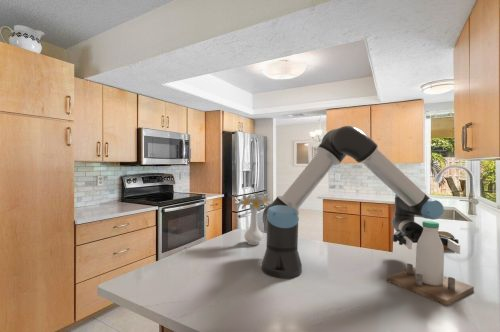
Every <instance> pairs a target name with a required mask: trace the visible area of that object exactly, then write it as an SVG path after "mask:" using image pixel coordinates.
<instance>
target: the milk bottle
mask: <svg viewBox="0 0 500 332" xmlns="http://www.w3.org/2000/svg"><path fill="white" fill-rule="evenodd" d="M421 224H422V225H421V226H422V228H423V232H422V234H421V236H420V238H419V240H418V242H417V243H416V249H415V251H416V252H415V267H416V274H421V275H423V276H422V283H424V284H428V285H433V286H440V285H442V284H443V276H444V275H445V274H444V271H445V270H444V269H445V267H444V266H445V249H444V248H443V244H442V241H441V239H440V237H439V234H438V231H440V223H439V222H437V221H433V220H423V221H422V222H421Z"/></svg>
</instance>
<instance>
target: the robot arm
mask: <svg viewBox="0 0 500 332" xmlns="http://www.w3.org/2000/svg"><path fill="white" fill-rule="evenodd" d="M378 147H379V145H378V144H377V142H375V140H373V139H372V138H371V137H370V136H368V135H367V134H366V133H365V132H363V131H362V130H361V129H359V128H357V127H355V126H352V125H344V126H343V125H342V126H340V127H337V128H333V129H331V130H329V131H328V132H327V133H325V134H324V136H323V137H322V139H321V143H320V144H318V146H317V149H316V151H317V153H316V154H315V155H314V157H313V158H312V159H311V160H310V161H309V163H308V164H307V165H306V166H305V168H304V169H303V170H302V171H301V172H300V174H299V175H298V176H297V178H296V179H295V180H294V181H293V182H292V183H291V185H290V186H289V187H288V189H287V190H286V191H285V192H284V194H283V195H278V196H276V198H275V199H274V200H273V201H272V202H271V203H269V205H268V206H267V205H266V207H265V208H264V210H263V212H262V222H263V225H264V226H265V228H266V250H265V252H264V255H263V259H262V261H261V271H262V272H263V273H264V274H266V275H267V276H270V277H274V278H277V279H292V278H295V277H298V276H300V275H301V274H302V272H303V265H302V261H301V258H300V254H299V251H298V248H299V247H298V244H299V243H298V241H299V239H298V237H299V219H300V218H299V215H300V211H299V208H301V206H302V205H303V203H304V202H305V201H306V200H307V199H308V198H309V196H310V195H311V194H312V192H314V190H315V189H316V187H317V186H318V185H319V184H320V182H321V181H322V180H323V179H324V178H325V177H326V175H328V173H329V171H330V170H331V169H332V168H333V167H334V166H336V165H340V164H341V162H342V161H343V160H344V159H345V157H350V158H352V159H353V160H354V161H356V162H357V163H359V164H361V163H362V165H364V166H365V167H366V168H367V169H368V170H369V171H370V172H371V173H373V175H375V176H376V177H377V178H378V179H379V180H380V181H381V182H382V183H383V184H384V185H385V186H387V187H388V188H389V190H391V191H392V192H393V193H394V195H395V196H394V217H393V218H392V220H391V224H392V227H393V229H394V230H395V232H394V233H393V235H392V242H394V243H397V242H398V245H400V246H402V245H404V246H405V247H407V249H408V250H413V243H414V244H417V242H418V240H419V238H420V236H421V234H422V232H423V228H422V227H423V225H421V224H419V223H417V222H416V221H415V216H417V217H421V218H423V219H427V220H428V219H429V220H431V221H433V220H438V219H440V218H441V217H442V215H444V211H445V209H444V205H443V203H441V202H440V200H436V199H435V198H430V197H429V196H428V195H427V193H425V192H424V191H423V190H422V189H420V188H419V186H418V185H417V184H416V183H414V182H413V181H412V180H411V179H410V178H409V177H408V176H407V175H406V174H405V173H404V172H403V171H402V170H400V168H399V167H397V166H396V165H395V164H394V163H393V162H392V161H391V160H390V159H389V158H388V157H387V156H386V155H385V154H384V153H382V152H381V151H380V150H379V149H378ZM439 237H440V239H441V241H442V244H443V245H445V246H448V248H449V249H448V250H451V251H453V253H456V254H461V244H459V239H457V238H455V237H454V238H455V239H454V238H453V237H447V236H444V235H441V234H439Z"/></svg>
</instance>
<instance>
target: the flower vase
mask: <svg viewBox="0 0 500 332" xmlns="http://www.w3.org/2000/svg"><path fill="white" fill-rule="evenodd" d="M253 195H254V196H253ZM234 198H235V201H234V204H235V205H236V206H237V207H236V211H237V212H239V210H240V207H241V209H242V210H243V209H245V207H246V206H249V210H250V225H249V228H247V231H245V233H244V236H243V237H244V239H245V240H246V241H247V244H249V246H250V245H252V246H255V245H260V244H261V243H260V242H261V241H263V238H264V234H263V233H262V231H261V230H260V228H259V227H258V212H261V206H263V205H264V206H266V207H267V206H268V205H270V204H271V203H272V200H271V198H268V195H267V193H266V192H265V193H264V194H263V193H262V194H258V193H257V192H254V193H253V194H252V193H250V194H249V195H247V196H246V195H245V194H243V195H242V200H238V198H236V197H234ZM241 205H242V206H241Z"/></svg>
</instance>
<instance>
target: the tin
mask: <svg viewBox="0 0 500 332" xmlns="http://www.w3.org/2000/svg"><path fill="white" fill-rule="evenodd" d="M438 234H441V235H444V236H447V237H453V238H454V239H456V237H455V236H454V235H453V234H452V233H450V232H448V231H444V230H443V231H442V230H438ZM443 248H444V250H450V249H449V248H448V246H445V245H443Z"/></svg>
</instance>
